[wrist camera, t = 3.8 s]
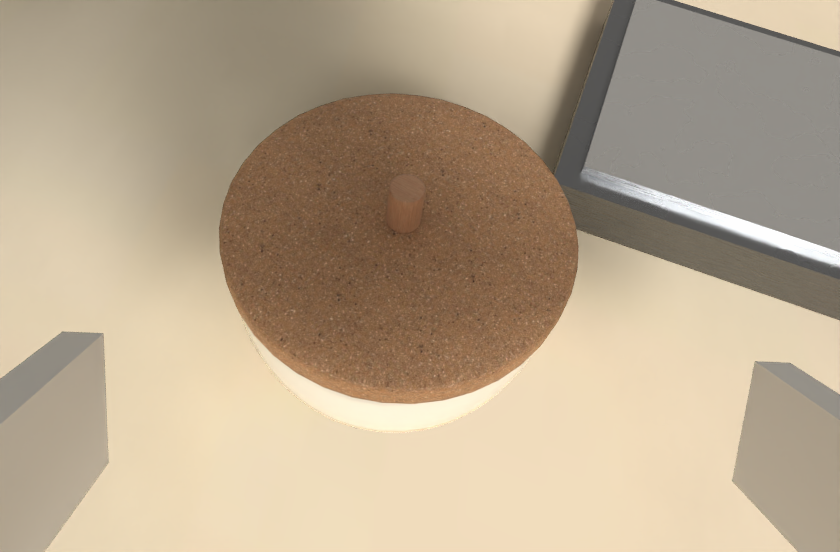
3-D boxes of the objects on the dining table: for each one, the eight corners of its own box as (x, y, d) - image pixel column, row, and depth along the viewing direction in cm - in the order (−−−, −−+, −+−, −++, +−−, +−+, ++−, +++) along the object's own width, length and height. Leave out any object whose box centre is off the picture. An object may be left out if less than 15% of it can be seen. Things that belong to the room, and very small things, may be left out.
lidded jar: (351, 183, 32) (355, 6, 24) (568, 304, 30) (653, 154, 21) (187, 371, 26) (120, 226, 18) (435, 534, 24) (482, 450, 16)
